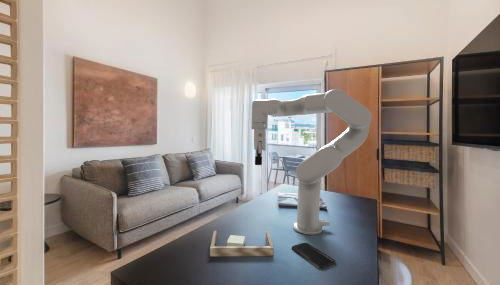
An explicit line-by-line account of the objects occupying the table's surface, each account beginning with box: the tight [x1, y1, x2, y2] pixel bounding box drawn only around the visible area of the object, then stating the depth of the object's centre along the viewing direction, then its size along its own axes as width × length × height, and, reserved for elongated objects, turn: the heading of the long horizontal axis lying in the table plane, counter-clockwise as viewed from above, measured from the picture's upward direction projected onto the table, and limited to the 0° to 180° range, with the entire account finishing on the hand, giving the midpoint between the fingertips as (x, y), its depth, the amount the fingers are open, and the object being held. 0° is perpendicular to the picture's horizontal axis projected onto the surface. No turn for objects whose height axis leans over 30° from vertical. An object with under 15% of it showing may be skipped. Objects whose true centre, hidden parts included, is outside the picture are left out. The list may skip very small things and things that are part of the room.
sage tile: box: [226, 234, 246, 246], centre depth 89 cm, size 6×6×2 cm
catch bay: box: [209, 230, 274, 257], centre depth 88 cm, size 22×14×3 cm, turn 93°
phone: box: [291, 242, 337, 270], centre depth 83 cm, size 8×1×15 cm
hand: (258, 164), depth 112 cm, fingers closed
